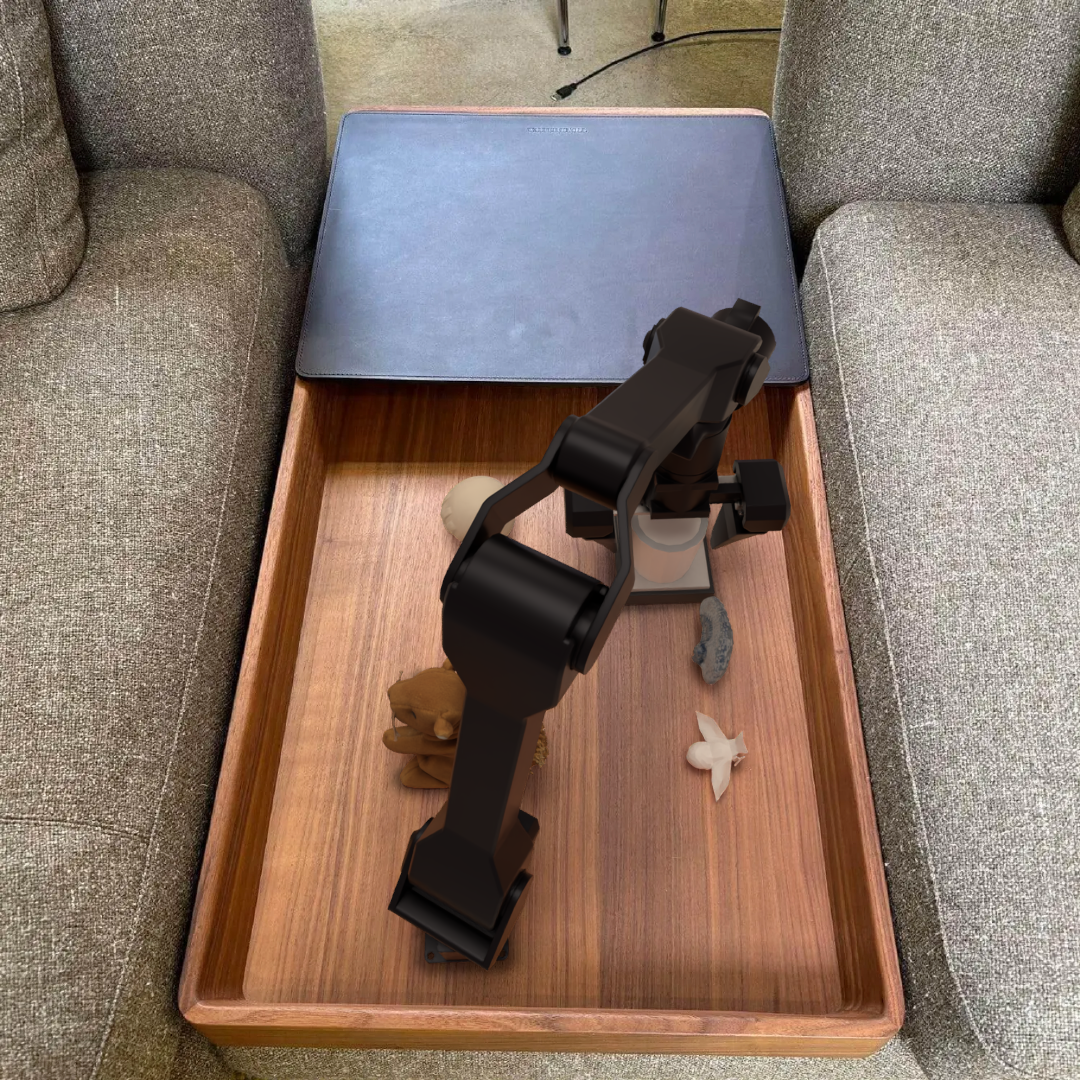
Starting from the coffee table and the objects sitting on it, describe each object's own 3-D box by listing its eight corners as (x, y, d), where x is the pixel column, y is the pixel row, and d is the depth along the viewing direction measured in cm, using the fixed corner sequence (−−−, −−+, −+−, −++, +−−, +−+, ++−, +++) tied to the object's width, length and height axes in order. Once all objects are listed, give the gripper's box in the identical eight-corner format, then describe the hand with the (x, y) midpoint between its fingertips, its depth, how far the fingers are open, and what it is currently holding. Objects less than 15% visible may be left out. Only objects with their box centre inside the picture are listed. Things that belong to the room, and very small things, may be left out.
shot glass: (697, 529, 85) (708, 488, 79) (697, 592, 82) (708, 554, 76) (626, 523, 86) (632, 482, 80) (622, 586, 82) (628, 548, 76)
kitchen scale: (711, 602, 84) (716, 590, 82) (617, 605, 84) (619, 593, 82) (690, 457, 93) (693, 442, 91) (604, 460, 93) (605, 445, 91)
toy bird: (670, 716, 78) (696, 695, 74) (716, 716, 80) (743, 696, 76) (690, 807, 74) (719, 790, 70) (737, 805, 76) (768, 789, 72)
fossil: (688, 610, 84) (696, 585, 80) (725, 612, 84) (735, 587, 80) (689, 692, 80) (697, 671, 75) (728, 695, 80) (738, 674, 75)
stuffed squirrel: (409, 675, 81) (386, 611, 70) (562, 700, 79) (564, 640, 68) (380, 783, 76) (350, 733, 65) (542, 812, 74) (541, 767, 63)
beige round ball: (443, 503, 90) (436, 464, 85) (515, 499, 91) (513, 460, 85) (443, 561, 87) (436, 525, 81) (518, 556, 87) (516, 520, 81)
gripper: (786, 363, 73) (749, 472, 87) (561, 371, 73) (559, 478, 87) (812, 474, 68) (768, 572, 81) (567, 482, 67) (564, 579, 81)
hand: (663, 546), depth 83 cm, fingers open, 9 cm apart
